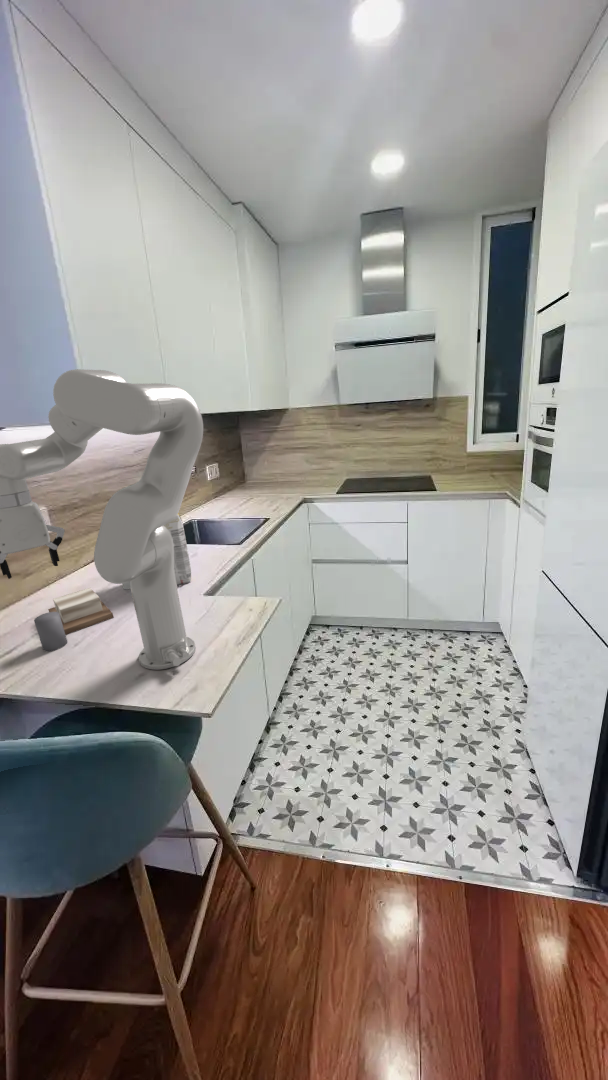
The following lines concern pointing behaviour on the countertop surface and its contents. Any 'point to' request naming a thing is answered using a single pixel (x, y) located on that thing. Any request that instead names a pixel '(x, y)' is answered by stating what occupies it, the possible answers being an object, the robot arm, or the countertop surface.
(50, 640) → the charcoal cylinder
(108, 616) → the plinth base
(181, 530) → the juice carton
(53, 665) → the countertop surface
